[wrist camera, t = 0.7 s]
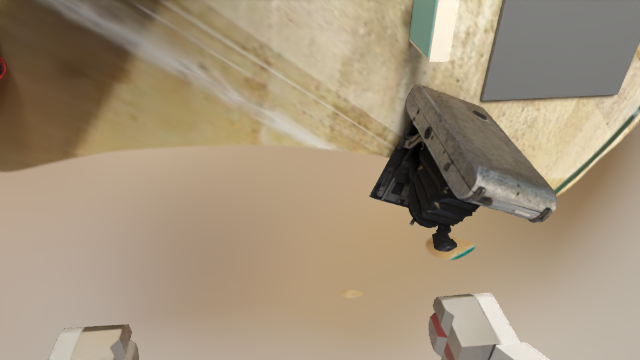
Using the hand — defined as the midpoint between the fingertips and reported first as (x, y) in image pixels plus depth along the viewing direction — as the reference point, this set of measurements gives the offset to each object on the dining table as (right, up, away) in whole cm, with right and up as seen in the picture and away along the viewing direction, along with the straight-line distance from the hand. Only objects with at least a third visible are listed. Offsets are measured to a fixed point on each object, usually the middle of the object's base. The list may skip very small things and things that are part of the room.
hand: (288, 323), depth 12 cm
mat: (+30, +23, +37) cm, 53 cm away
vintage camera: (+14, +9, +45) cm, 48 cm away
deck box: (+12, +22, +35) cm, 43 cm away
